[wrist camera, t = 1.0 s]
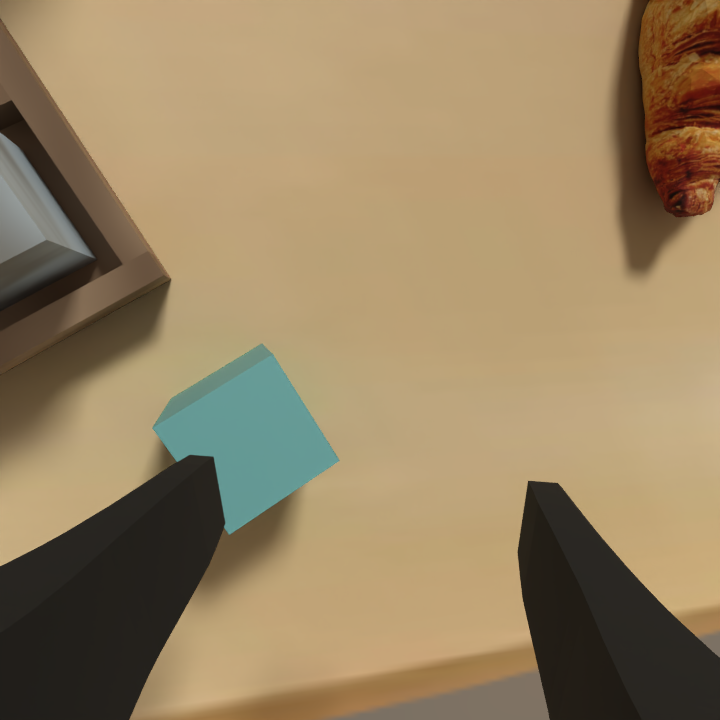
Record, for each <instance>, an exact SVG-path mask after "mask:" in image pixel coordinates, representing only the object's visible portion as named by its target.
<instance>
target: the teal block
mask: <svg viewBox="0 0 720 720" xmlns="http://www.w3.org/2000/svg"><path fill="white" fill-rule="evenodd" d="M153 430H154V431H155V432H156V434H157V435H158V437H159V438H160V439H161V441H162V442H163V444H164V445H165V446H166V448H167V449H168V450H169V452H170V453H171V455H172V456H173V457H174V459H175V460H176V462H178V461H180V460H181V459H183V458H185V457H187V456H188V455H200V456H213V457H214V462H215V467H216V473H217V478H218V484H219V490H220V495H221V501H222V507H223V512H224V518H225V526H224V528H225V530H226V531H227V532H228V534H229V535H230V534H231V533H233V532H234V531H236V530H237V529H239V528H240V527H242V526H243V525H245V524H246V523H248V522H249V521H251V520H252V519H254V518H255V517H257V516H258V515H260V514H261V513H263V512H264V511H266V510H267V509H268V508H270V507H271V506H273V505H274V504H276V503H277V502H279V501H280V500H282V499H283V498H285V497H286V496H288V495H289V494H291V493H292V492H294V491H295V490H297V489H298V488H300V487H301V486H303V485H304V484H306V483H307V482H309V481H310V480H312V479H313V478H314V477H316V476H317V475H319V474H320V473H322V472H323V471H325V470H326V469H328V468H329V467H331V466H332V465H334V464H335V463H337V462H338V461H340V460H339V459H338V457H337V456H336V454H335V452H334V451H333V449H332V448H331V446H330V444H329V443H328V441H327V440H326V438H325V437H324V435H323V433H322V432H321V430H320V429H319V427H318V425H317V424H316V422H315V421H314V419H313V417H312V416H311V414H310V413H309V411H308V409H307V408H306V406H305V405H304V403H303V401H302V400H301V398H300V397H299V395H298V394H297V392H296V390H295V389H294V387H293V386H292V384H291V382H290V381H289V379H288V378H287V376H286V374H285V373H284V371H283V370H282V368H281V366H280V365H279V363H278V362H277V360H276V359H275V357H274V355H273V354H272V353H271V352H270V351H269V350H268V349H267V348H266V347H265V346H264V345H263V344H260V345H259V346H257V347H255V348H254V349H252V350H250V351H249V352H247V353H245V354H244V355H242V356H241V357H239V358H237V359H236V360H234V361H232V362H231V363H229V364H227V365H226V366H224V367H222V368H221V369H219V370H217V371H216V372H214V373H212V374H211V375H209V376H207V377H206V378H204V379H203V380H201V381H199V382H198V383H196V384H194V385H193V386H191V387H189V388H188V389H186V390H184V391H183V392H181V393H179V394H178V395H176V396H174V397H173V398H171V399H170V401H169V403H168V404H167V406H166V407H165V409H164V410H163V412H162V414H161V415H160V417H159V418H158V420H157V421H156V423H155V425H154V426H153Z"/></svg>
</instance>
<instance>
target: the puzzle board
mask: <svg viewBox="0 0 720 720" xmlns="http://www.w3.org/2000/svg"><path fill="white" fill-rule="evenodd" d="M169 280H171V278H170V276H169V275H168V273H167V272H166V270H165V269H164V267H163V266H162V264H161V263H160V261H159V260H158V258H157V257H156V255H155V254H154V252H153V251H152V249H151V247H150V246H149V244H148V243H147V241H146V240H145V238H144V237H143V235H142V234H141V232H140V231H139V229H138V228H137V226H136V225H135V223H134V222H133V220H132V219H131V217H130V215H129V214H128V212H127V211H126V209H125V208H124V206H123V205H122V203H121V202H120V200H119V199H118V197H117V196H116V194H115V193H114V191H113V190H112V188H111V187H110V185H109V183H108V182H107V180H106V179H105V177H104V176H103V174H102V173H101V171H100V170H99V168H98V167H97V165H96V164H95V162H94V161H93V159H92V158H91V156H90V155H89V153H88V151H87V150H86V148H85V147H84V145H83V144H82V142H81V141H80V139H79V138H78V136H77V135H76V133H75V132H74V130H73V129H72V127H71V126H70V124H69V123H68V121H67V119H66V118H65V116H64V115H63V113H62V112H61V110H60V109H59V107H58V106H57V104H56V103H55V101H54V100H53V98H52V97H51V95H50V94H49V92H48V90H47V89H46V87H45V86H44V84H43V83H42V81H41V80H40V78H39V77H38V75H37V74H36V72H35V71H34V69H33V68H32V66H31V65H30V63H29V62H28V60H27V58H26V57H25V55H24V54H23V52H22V51H21V49H20V48H19V46H18V45H17V43H16V42H15V40H14V39H13V37H12V36H11V34H10V33H9V31H8V30H7V28H6V26H5V25H4V23H3V22H2V20H1V19H0V375H1V374H3V373H4V372H6V371H8V370H10V369H12V368H13V367H15V366H17V365H19V364H21V363H22V362H24V361H26V360H28V359H29V358H31V357H33V356H35V355H37V354H38V353H40V352H42V351H44V350H46V349H47V348H49V347H51V346H53V345H55V344H56V343H58V342H60V341H62V340H63V339H65V338H67V337H69V336H71V335H72V334H74V333H76V332H78V331H80V330H81V329H83V328H85V327H87V326H89V325H90V324H92V323H94V322H96V321H98V320H99V319H101V318H103V317H105V316H106V315H108V314H110V313H112V312H114V311H115V310H117V309H119V308H121V307H123V306H124V305H126V304H128V303H130V302H132V301H133V300H135V299H137V298H139V297H140V296H142V295H144V294H146V293H148V292H149V291H151V290H153V289H155V288H157V287H158V286H160V285H162V284H164V283H166V282H167V281H169Z"/></svg>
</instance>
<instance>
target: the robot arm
mask: <svg viewBox="0 0 720 720" xmlns="http://www.w3.org/2000/svg"><path fill="white" fill-rule="evenodd" d="M224 526H225V518H224V512H223V507H222V501H221V495H220V490H219V484H218V478H217V473H216V467H215V462H214V457H213V456H200V455H188V456H187V457H185V458H183V459H181V460H180V461H178V462H177V463H175V464H173V465H172V466H170V467H169V468H167V469H166V470H164V471H162V472H161V473H159V474H158V475H156V476H155V477H153V478H152V479H150V480H149V481H147V482H146V483H144V484H143V485H141V486H140V487H138V488H136V489H135V490H133V491H132V492H130V493H129V494H127V495H126V496H124V497H123V498H121V499H119V500H118V501H116V502H115V503H113V504H112V505H110V506H109V507H107V508H105V509H104V510H102V511H100V512H99V513H97V514H95V515H94V516H92V517H90V518H89V519H87V520H85V521H84V522H82V523H80V524H79V525H77V526H75V527H74V528H72V529H70V530H69V531H67V532H65V533H63V534H62V535H60V536H58V537H56V538H55V539H53V540H51V541H49V542H47V543H45V544H43V545H42V546H40V547H38V548H36V549H34V550H32V551H30V552H28V553H26V554H24V555H22V556H20V557H18V558H16V559H14V560H12V561H10V562H8V563H6V564H4V565H2V566H0V720H129V719H130V716H131V714H132V712H133V710H134V707H135V705H136V703H137V700H138V698H139V696H140V694H141V691H142V689H143V687H144V685H145V682H146V680H147V678H148V676H149V674H150V672H151V670H152V668H153V666H154V664H155V662H156V660H157V658H158V656H159V654H160V652H161V651H162V649H163V647H164V645H165V643H166V642H167V640H168V638H169V636H170V634H171V633H172V631H173V629H174V627H175V625H176V624H177V622H178V620H179V618H180V616H181V615H182V613H183V611H184V609H185V607H186V606H187V604H188V602H189V600H190V599H191V597H192V595H193V593H194V591H195V589H196V588H197V586H198V584H199V582H200V580H201V578H202V577H203V575H204V573H205V571H206V569H207V567H208V565H209V564H210V561H211V559H212V556H213V554H214V552H215V549H216V547H217V544H218V542H219V539H220V536H221V534H222V531H223V528H224ZM518 560H519V570H520V580H521V588H522V597H523V602H524V607H525V611H526V616H527V620H528V625H529V629H530V634H531V638H532V642H533V647H534V651H535V655H536V660H537V664H538V669H539V673H540V677H541V682H542V686H543V690H544V695H545V699H546V703H547V708H548V712H549V718H550V720H720V658H719V657H718V656H717V655H716V654H715V653H713V652H712V651H711V650H710V649H709V648H708V647H707V646H706V645H705V644H704V643H703V642H702V641H700V640H699V639H698V638H697V637H696V636H695V635H694V634H693V633H692V632H691V631H690V630H688V629H687V628H686V627H685V626H684V625H683V624H682V623H681V622H680V621H679V620H678V619H677V618H676V617H675V616H673V615H672V614H671V613H670V612H669V611H668V610H667V609H666V608H665V607H664V606H663V605H662V604H661V603H660V602H659V601H658V600H657V598H656V597H655V596H654V595H653V594H652V593H651V592H650V591H649V590H648V589H647V588H646V587H645V586H644V585H643V584H642V583H641V582H640V581H639V580H638V578H637V577H636V576H635V575H634V574H633V573H632V572H631V571H630V570H629V569H628V567H627V566H626V565H625V564H624V563H623V562H622V561H621V559H620V558H619V557H618V556H617V555H616V554H615V553H614V551H613V550H612V549H611V548H610V547H609V546H608V544H607V543H606V542H605V541H604V540H603V539H602V537H601V536H600V535H599V534H598V533H597V531H596V530H595V529H594V528H593V526H592V525H591V524H590V523H589V521H588V520H587V519H586V518H585V516H584V515H583V514H582V513H581V511H580V510H579V509H578V508H577V506H576V505H575V504H574V502H573V501H572V500H571V499H570V497H569V496H568V495H567V493H566V492H565V491H564V490H563V488H562V487H561V486H560V485H559V484H558V483H549V482H536V481H528V486H527V492H526V499H525V506H524V513H523V519H522V526H521V533H520V540H519V546H518Z"/></svg>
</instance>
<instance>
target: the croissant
mask: <svg viewBox="0 0 720 720" xmlns="http://www.w3.org/2000/svg"><path fill="white" fill-rule="evenodd" d="M641 22H642V25H641V32H640V40H639V49H638V54H639V68H640V72H641V76H642V84H643V97H642V99H643V105H644V111H645V136H646V142H647V143H646V146H645V149H646V162H647V166H648V170H649V173H650V175H651V178H652V180H653V182H654V184H655V186H656V189H657V192H658V193H659V195H660V197H661V199H662V201H663V203H664V207H665V210H666V211H667V212H669V213H672V214H673V215H674V216H675V217H688V216H696V215H702V214H704V213H706V212H708V211H710V210H711V208H712V205H713V201H714V192H715V189H716V187H717V184H718V182H720V0H649V2H648V4H647V7H646V9H645V12H644V15H643V17H642V19H641Z"/></svg>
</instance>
